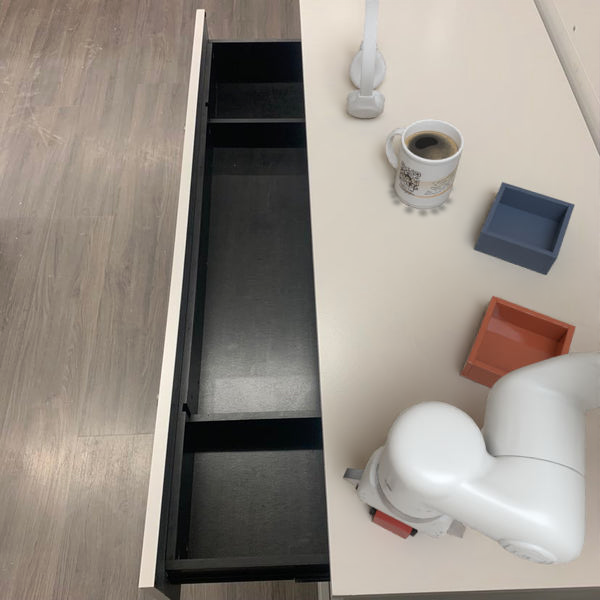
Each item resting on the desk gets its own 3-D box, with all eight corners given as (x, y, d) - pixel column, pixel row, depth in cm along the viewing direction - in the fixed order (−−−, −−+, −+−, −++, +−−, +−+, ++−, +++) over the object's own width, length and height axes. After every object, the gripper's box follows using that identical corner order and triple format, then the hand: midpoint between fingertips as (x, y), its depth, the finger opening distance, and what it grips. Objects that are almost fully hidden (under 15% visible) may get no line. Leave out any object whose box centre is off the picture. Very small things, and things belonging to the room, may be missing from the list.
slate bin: (563, 223, 88) (574, 204, 84) (546, 275, 83) (557, 258, 79) (494, 200, 91) (502, 181, 87) (473, 249, 86) (480, 232, 82)
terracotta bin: (563, 341, 77) (575, 326, 73) (542, 410, 72) (555, 398, 68) (484, 311, 80) (492, 295, 76) (459, 375, 75) (467, 361, 71)
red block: (418, 505, 66) (423, 498, 62) (405, 539, 64) (410, 534, 60) (385, 488, 67) (389, 480, 64) (371, 521, 65) (374, 515, 62)
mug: (397, 213, 91) (406, 166, 81) (381, 164, 97) (387, 114, 87) (457, 204, 91) (472, 156, 82) (437, 155, 97) (449, 105, 88)
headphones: (384, 73, 110) (394, -27, 93) (382, 134, 101) (393, 35, 84) (350, 72, 111) (354, -27, 94) (344, 133, 101) (347, 34, 84)
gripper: (516, 484, 49) (471, 517, 65) (351, 407, 54) (346, 455, 70) (492, 564, 46) (451, 578, 62) (318, 475, 51) (321, 509, 66)
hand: (395, 513), depth 65 cm, fingers closed on red block, 4 cm apart
